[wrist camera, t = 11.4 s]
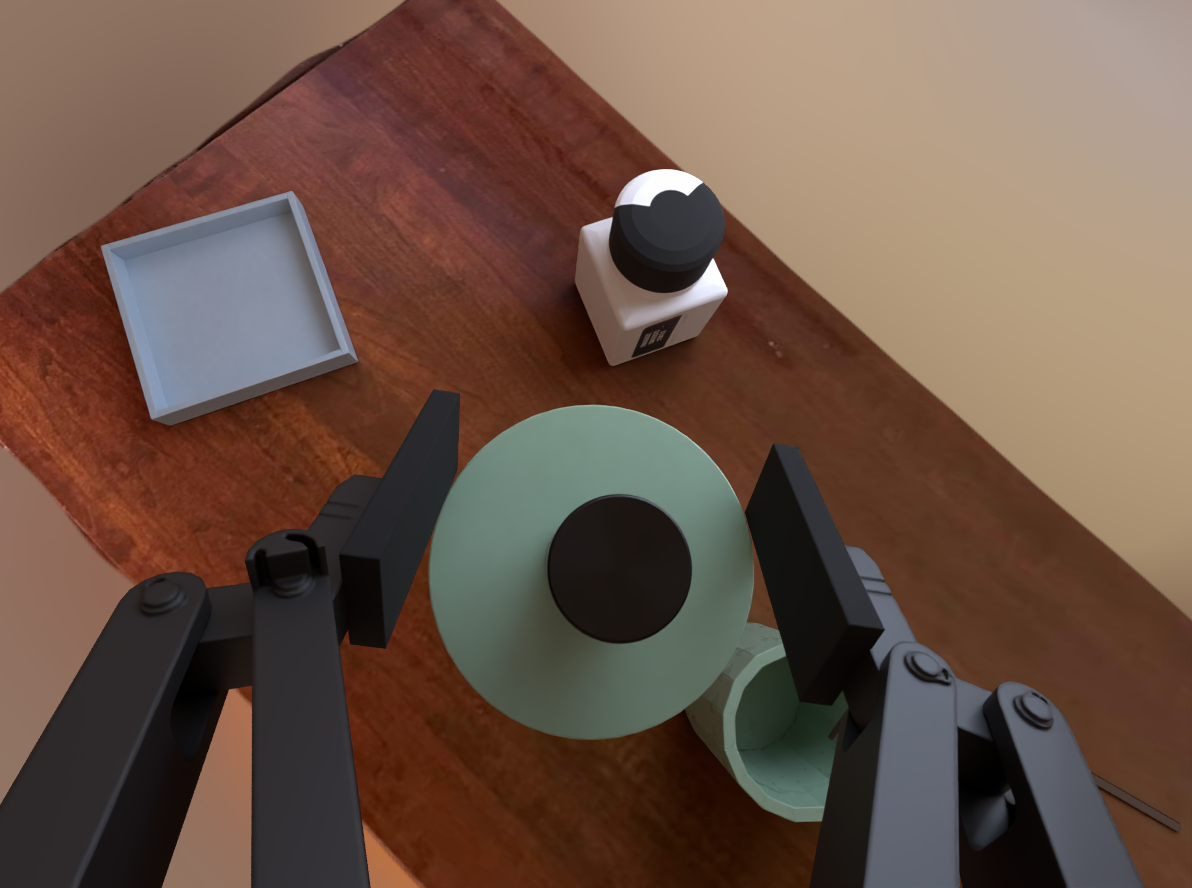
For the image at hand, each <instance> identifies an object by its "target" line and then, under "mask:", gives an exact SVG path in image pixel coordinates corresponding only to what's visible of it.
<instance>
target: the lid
mask: <svg viewBox="0 0 1192 888" xmlns="http://www.w3.org/2000/svg"><path fill="white" fill-rule="evenodd" d="M753 586H754V559H753V550H752V542H751V538H750V533H749V529H748V525H747V521H746V519H745V516H744V513H743V510H742V508H741V505H740V502H739V501H738V499H737V497H736V495H735V493H734V491H733V489H732V487H731V485H730V483H729V482H728V480H727V479H726V478H725V476H724V475H723V473H722V472H721V470H720V469H719V467H718V466H717V465H716V464H715V463H714V462H713V461H712V459H711V458H710V457H709V456H708V455H707V454H706V453H705V452H704V451H703V450H702V449H701V448H700V447H699V446H698V445H696V444H695V443H694V442H693V441H692V440H691V439H690V438H688V437H687V436H685V435H684V434H682V433H681V432H679V431H678V430H676V429H675V428H673V427H672V426H670V425H668V424H666V423H664V422H662V421H660V420H658V419H656V418H654V417H651V416H648V415H645V414H643V413H640V412H637V411H633V410H629V409H624V408H620V407H613V406H603V405H578V406H571V407H564V408H558V409H554V410H551V411H547V412H544V413H541V414H537V415H535V416H532V417H530V418H528V419H526V420H523V421H521V422H519V423H517V424H515V425H514V426H512V427H510V428H509V429H507V430H505V431H504V432H502V433H500V434H499V435H498V436H497V437H495V438H494V439H493V440H492V441H490V442H489V443H488V444H487V445H485V446H484V447H483V448H482V449H481V450H480V451H479V452H478V453H477V454H476V455H475V456H474V457H473V458H472V459H471V460H470V461H469V463H468V464H467V465H466V467H465V468H464V469H463V471H462V472H461V473H460V474H459V476H458V477H457V478H456V480H455V482H454V484H453V485H452V487H451V489H450V491H449V492H448V494H447V496H446V499H445V501H444V504H443V506H442V509H441V511H440V514H439V516H438V519H437V521H436V524H435V528H434V532H433V536H432V539H431V547H430V554H429V591H430V599H431V606H432V610H433V614H434V618H435V621H436V625H437V629H438V631H439V633H440V636H441V638H442V641H443V643H444V645H445V648H446V650H447V652H448V653H449V655H450V657H451V658H452V660H453V662H454V663H455V665H456V667H457V668H458V670H459V671H460V673H461V674H462V675H463V676H464V678H465V679H466V680H467V681H468V683H469V684H470V685H471V686H472V688H473V689H475V690H476V691H477V692H478V693H479V694H480V695H481V696H482V697H483V698H484V699H485V700H486V701H487V702H488V703H489V704H491V705H492V706H494V707H495V708H496V709H498V710H499V711H501V712H502V713H503V714H505V715H506V716H508V717H510V718H512V719H513V720H515V721H517V722H519V723H521V724H523V725H525V726H527V727H529V728H532V729H535V730H538V731H541V732H544V733H547V734H550V735H555V736H560V737H565V738H570V739H587V740H598V739H609V738H618V737H622V736H626V735H630V734H634V733H639V732H641V731H644V730H646V729H649V728H651V727H654V726H656V725H659V724H661V723H663V722H664V721H666V720H668V719H670V718H671V717H673V716H675V715H677V714H679V713H680V712H681V711H683V710H684V709H685V708H686V707H688V706H689V705H690V704H692V703H693V702H694V701H696V700H697V699H698V698H699V697H700V696H701V695H702V694H703V693H704V692H705V691H706V690H707V689H708V688H709V687H710V686H711V685H712V684H713V682H714V681H715V680H716V679H717V677H718V676H719V675H720V673H721V672H722V671H723V669H724V668H725V667H726V665H727V663H728V662H729V660H730V658H731V656H732V655H733V653H734V651H735V649H736V648H737V645H738V643H739V641H740V638H741V636H742V633H743V631H744V629H745V625H746V622H747V618H748V614H749V611H750V607H751V600H752V593H753Z"/></svg>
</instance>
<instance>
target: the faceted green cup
mask: <svg viewBox="0 0 1192 888" xmlns="http://www.w3.org/2000/svg"><path fill="white" fill-rule="evenodd" d="M847 708H848V704H847V702H846V699H845V696H844V693H843V691H842V692H841V693H840V695H839V696H838V698H837V699H836V700H835V702H834V703H833V705H832V706H828V705H820V704H812V703H804V702H799V698H798V695H797V691H796V688H795V684H794V681H793V677H792V674H791V671H790V667H789V664H788V660H787V657H786V653H785V650H784V646H783V643H782V639H781V636H780V632H779V630H776V629H773V628H770V627H767V626H764V625H761V624H758V623H749V622H746V625H745V629H744V631H743V633H742V636H741V638H740V641H739V643H738V645H737V648H736V649H735V651H734V653H733V655H732V656H731V658H730V660H729V662H728V663H727V665H726V667H725V668H724V669H723V671H722V672H721V673H720V675H719V676H718V677H717V679H716V680H715V681H714V682H713V684H712V685H711V686H710V687H709V688H708V689H707V690H706V691H705V692H704V693H703V694H702V695H701V696H700V697H699V698H698V699H697V700H696V701H694V702H693V703H692V704H690V705H689V706H688V707H686V708H685V711H686V714H687V717H688V719H689V721H690V723H691V725H692V727H693V729H694V731H695V732H696V734H697V735H698V736H699V737H700V738H701V740H702V741H703V742H704V743H705V744H706V746H707V747H708V748H709V749H710V750H711V752H712V753H713V754H714V755H715V756H716V758H717V759H718V760H719V761H720V762H721V764H722V765H723V766H724V767H725V769H726V770H727V771H728V772H729V773H730V775H731V776H732V777H733V778H734V779H735V781H736V782H737V783H738V784H739V785H740V786H741V787H742V788H743V789H744V790H745V792H746V793H747V794H748V795H749V796H750V797H751V798H752V799H753V800H754V801H755V802H756V803H757V804H758V805H759V806H760V807H761V808H763V809H764V810H766V811H769V812H771V813H773V814H776V815H778V816H780V817H783V818H785V819H787V820H790V821H793V822H812V821H822V818H823V812H824V807H825V802H826V796H827V791H828V786H829V780H830V775H831V770H832V765H833V759H834V754H835V749H836V743H837V738H838V733H837V735H836V736H835V737H834V739H833V740H831V739H829V738H828V736H829V734H830V732H831V730H832V729H833V727H834V726H835V725H836V723H837V722H838V720H839V719H840V718H841V716H842V715H843V714H844V712H845V711H846V710H847Z"/></svg>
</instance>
